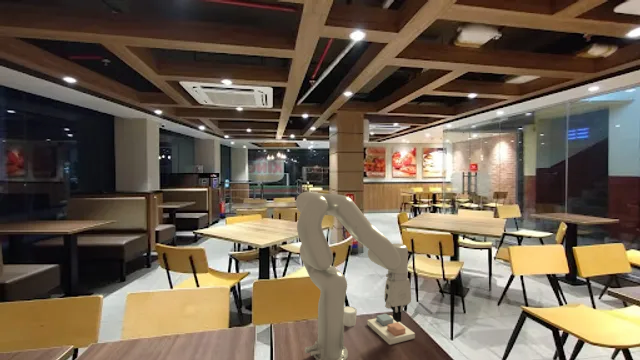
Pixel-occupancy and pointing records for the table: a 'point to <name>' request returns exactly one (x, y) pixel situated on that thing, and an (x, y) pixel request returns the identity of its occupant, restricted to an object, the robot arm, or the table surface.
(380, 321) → the key slate
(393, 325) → the key terracotta
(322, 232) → the robot arm
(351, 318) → the shot glass
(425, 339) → the table surface
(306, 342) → the table surface
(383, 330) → the board
